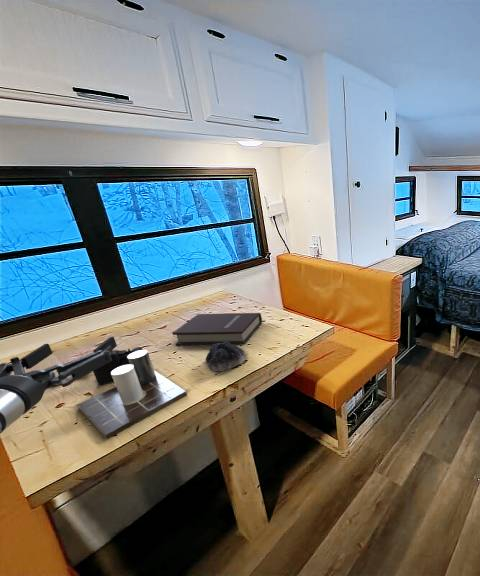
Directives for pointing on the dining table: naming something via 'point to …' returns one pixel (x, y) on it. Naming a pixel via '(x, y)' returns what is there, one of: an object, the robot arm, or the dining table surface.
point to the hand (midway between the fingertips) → (81, 344)
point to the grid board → (129, 406)
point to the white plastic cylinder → (127, 383)
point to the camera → (113, 365)
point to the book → (218, 329)
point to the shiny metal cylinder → (142, 366)
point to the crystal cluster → (224, 356)
